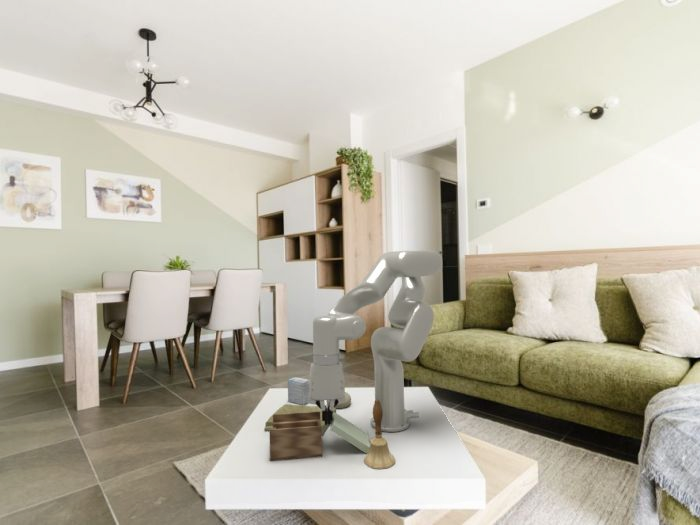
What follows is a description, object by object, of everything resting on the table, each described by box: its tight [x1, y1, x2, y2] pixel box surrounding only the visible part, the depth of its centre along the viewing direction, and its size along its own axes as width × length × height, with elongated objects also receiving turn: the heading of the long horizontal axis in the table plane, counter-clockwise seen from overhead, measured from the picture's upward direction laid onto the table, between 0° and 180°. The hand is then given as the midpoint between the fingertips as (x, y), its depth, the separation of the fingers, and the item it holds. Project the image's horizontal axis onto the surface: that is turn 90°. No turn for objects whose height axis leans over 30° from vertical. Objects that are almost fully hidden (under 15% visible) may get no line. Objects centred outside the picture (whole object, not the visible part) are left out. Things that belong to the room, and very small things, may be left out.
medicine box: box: [287, 376, 310, 406], centre depth 142 cm, size 8×4×9 cm, turn 58°
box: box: [269, 411, 323, 462], centre depth 104 cm, size 14×11×8 cm
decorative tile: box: [263, 403, 337, 437], centre depth 122 cm, size 19×20×4 cm
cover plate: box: [330, 412, 370, 454], centre depth 106 cm, size 12×9×2 cm
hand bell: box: [363, 399, 396, 470], centre depth 97 cm, size 8×8×16 cm
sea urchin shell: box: [326, 391, 352, 409], centre depth 138 cm, size 9×8×8 cm
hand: (327, 422), depth 106 cm, fingers closed
